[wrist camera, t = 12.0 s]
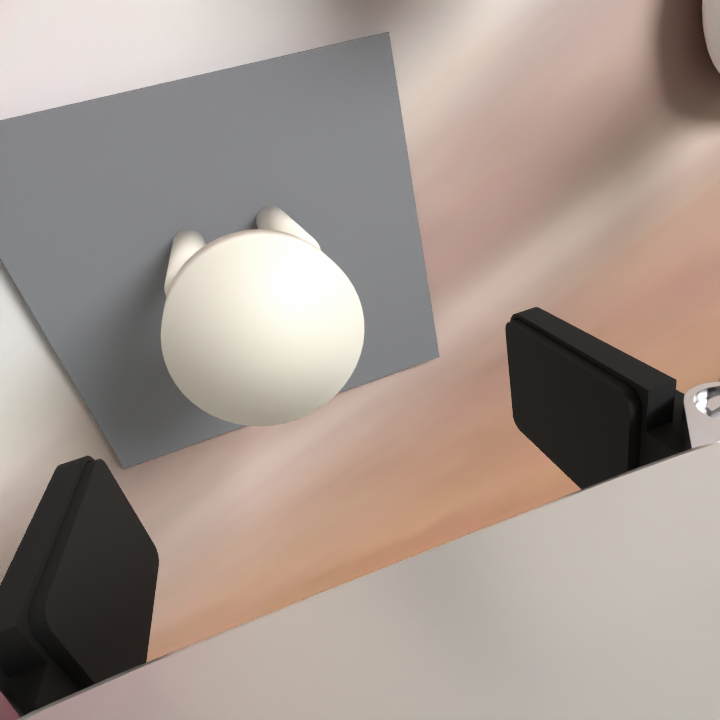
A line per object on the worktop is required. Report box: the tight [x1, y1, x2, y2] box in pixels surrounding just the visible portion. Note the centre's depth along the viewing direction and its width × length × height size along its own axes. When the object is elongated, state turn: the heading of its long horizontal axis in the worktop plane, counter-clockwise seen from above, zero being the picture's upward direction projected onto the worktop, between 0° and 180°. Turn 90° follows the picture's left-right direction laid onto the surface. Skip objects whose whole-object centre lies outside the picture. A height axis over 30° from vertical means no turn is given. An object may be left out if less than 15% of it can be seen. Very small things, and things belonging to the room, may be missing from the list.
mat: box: [0, 32, 439, 469], centre depth 23 cm, size 18×16×1 cm
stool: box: [161, 206, 364, 426], centre depth 19 cm, size 6×6×8 cm
